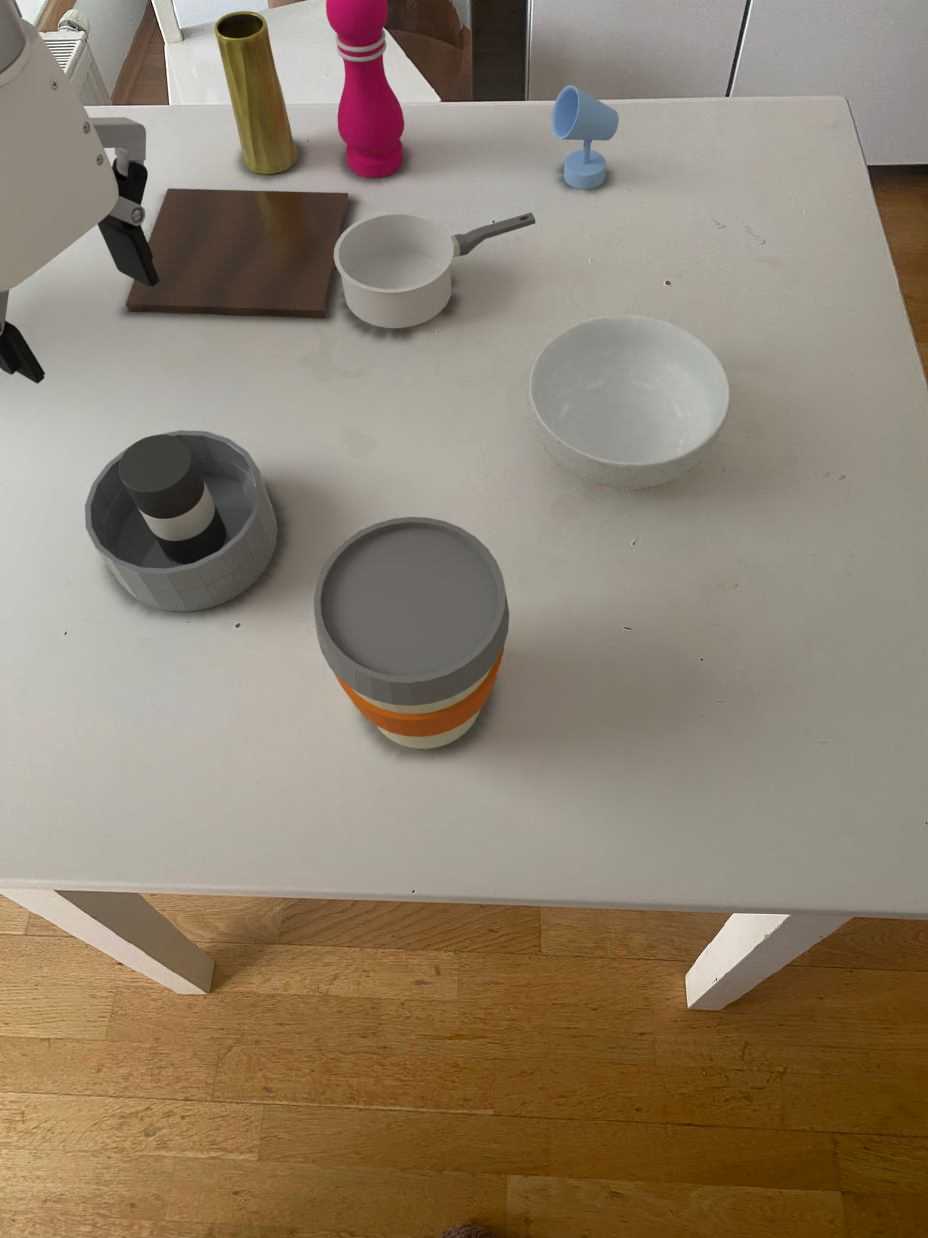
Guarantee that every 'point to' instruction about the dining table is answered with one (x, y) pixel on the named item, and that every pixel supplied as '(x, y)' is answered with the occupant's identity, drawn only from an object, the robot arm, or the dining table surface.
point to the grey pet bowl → (143, 559)
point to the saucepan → (404, 265)
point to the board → (243, 253)
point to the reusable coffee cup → (413, 627)
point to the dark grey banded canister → (173, 497)
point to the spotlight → (583, 134)
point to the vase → (255, 92)
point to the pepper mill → (366, 88)
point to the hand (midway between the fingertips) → (84, 322)
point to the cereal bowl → (627, 400)
